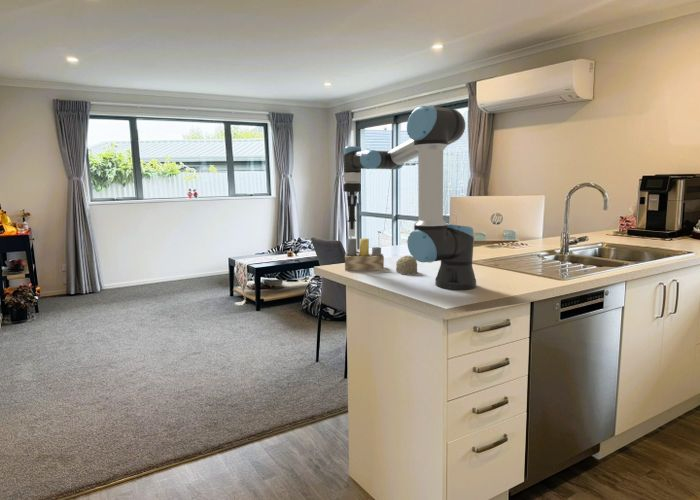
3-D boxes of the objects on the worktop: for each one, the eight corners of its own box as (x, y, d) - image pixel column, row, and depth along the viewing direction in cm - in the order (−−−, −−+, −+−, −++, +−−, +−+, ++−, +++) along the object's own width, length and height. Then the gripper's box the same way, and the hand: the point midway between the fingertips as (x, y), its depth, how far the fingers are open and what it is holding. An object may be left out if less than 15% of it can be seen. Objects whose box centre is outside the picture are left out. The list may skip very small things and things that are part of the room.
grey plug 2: (382, 267, 209) (382, 248, 208) (374, 268, 207) (374, 248, 206) (377, 266, 213) (378, 246, 211) (370, 267, 211) (370, 247, 209)
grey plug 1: (357, 259, 209) (358, 239, 207) (349, 259, 207) (349, 239, 205) (353, 257, 212) (353, 238, 211) (345, 258, 210) (345, 238, 209)
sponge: (403, 283, 198) (416, 266, 193) (388, 269, 202) (399, 251, 197) (414, 280, 205) (426, 263, 201) (399, 265, 209) (411, 248, 204)
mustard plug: (370, 259, 209) (370, 239, 207) (362, 259, 207) (362, 239, 205) (365, 257, 212) (366, 238, 211) (358, 258, 210) (358, 238, 209)
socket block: (382, 266, 214) (382, 253, 213) (383, 270, 206) (383, 256, 205) (345, 266, 214) (345, 253, 213) (344, 270, 206) (345, 256, 205)
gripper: (344, 182, 211) (343, 234, 214) (343, 182, 198) (343, 238, 202) (360, 182, 211) (360, 234, 214) (361, 182, 198) (360, 238, 201)
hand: (351, 236), depth 208 cm, fingers closed
